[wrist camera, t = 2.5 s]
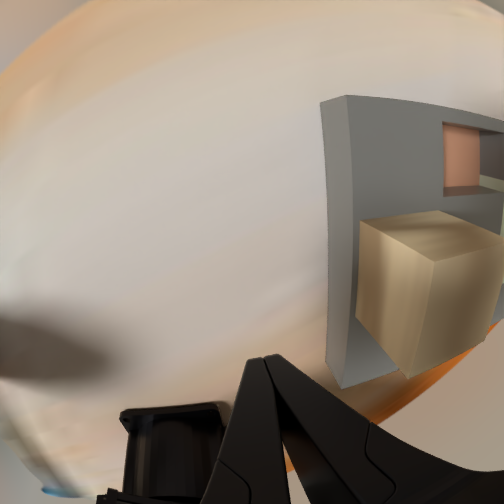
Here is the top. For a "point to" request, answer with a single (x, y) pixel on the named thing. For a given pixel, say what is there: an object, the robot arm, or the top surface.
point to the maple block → (427, 286)
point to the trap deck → (398, 197)
